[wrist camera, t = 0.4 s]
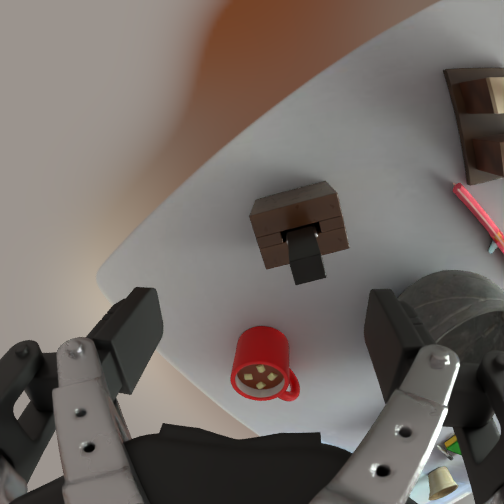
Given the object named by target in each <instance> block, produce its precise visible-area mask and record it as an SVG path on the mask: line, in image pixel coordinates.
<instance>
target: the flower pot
mask: <svg viewBox="0 0 504 504" xmlns="http://www.w3.org/2000/svg"><path fill="white" fill-rule="evenodd" d="M428 479H429V488H430V494H429V500H436V499H439V498H442V497H444V496H446V495H448V494H450V493H452V492H453V491H455V490H456V489H457V488H458V485H457V484H456V483H455V482H454V480H453V479H452V477H451V475H450V473H449V471H448V469H447V467H445V466H444V467H440V468H437V469H436V470H435V471H432V472H431V473H430V474H429V475H428Z"/></svg>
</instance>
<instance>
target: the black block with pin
mask: <svg viewBox="0 0 504 504" xmlns="http://www.w3.org/2000/svg"><path fill="white" fill-rule="evenodd" d="M316 237H318V235H317V231H316V229H315V226H314V223H311V224H307V225H303V226H300V227H296V228H292V229H288V230H286V242H287V244H288V252H289V264H290V267H291V271H292V274H293V278H294V281H295V285H299V284H303V283H307V282H311V281H315V280H319V279H323V278H326V272H325V268H324V264H323V260H322V255H321V252H320V249H319V246H318V243H317V240H316Z"/></svg>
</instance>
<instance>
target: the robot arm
mask: <svg viewBox="0 0 504 504" xmlns="http://www.w3.org/2000/svg"><path fill="white" fill-rule="evenodd" d="M162 335H163V320H162V315H161V310H160V305H159V300H158V295H157V291H156V289H155V288H145V287H136V288H134V289H133V291H132V292H131V293H130V294H129V295H128V296H127V298H126V299H123V300H121V301H119V302H118V303H116V304H114V305H113V306H112V307H111V309H110V310H109V311H108V312H107V314H105V315H104V317H103V318H102V320H100V321H99V322H98V324H97V325H96V326H95V327H94V328H93V330H92V331H91V332H90V333H89V334H88V335H87V337H86V338H85V337H78V338H74V339H70V340H68V341H66V342H65V343H63V344H62V345H61V346H60V347H59V348H58V350H57V352H56V353H42V352H41V350H40V347H39V345H38V343H37V342H35V341H32V340H27V341H22V342H19V343H17V344H15V345H14V346H13V347H12V348H10V349H9V351H8V352H7V353H6V354H5V355H4V356H3V357H2V358H1V359H0V504H418V503H416V502H415V501H414V500H412V499H411V498H410V497H409V495H410V493H411V491H412V490H413V488H414V486H415V484H416V482H417V480H418V478H419V476H420V474H421V472H422V470H423V468H424V466H425V464H426V462H427V460H428V457H429V455H430V453H431V451H432V449H433V446H434V444H435V442H436V439H437V437H438V434H439V432H440V429H441V427H442V426H445V427H453V430H454V432H455V435H456V438H457V441H458V444H459V447H460V451H461V454H462V457H463V460H464V463H465V467H466V470H467V474H468V477H469V481H470V484H471V488H472V492H473V495H474V500H475V504H504V352H502V351H497V350H493V351H489V352H487V353H485V355H484V356H483V358H482V361H481V363H480V364H477V363H466V362H460V360H459V357H458V355H457V354H456V353H455V352H454V351H453V350H451V349H450V348H448V347H445V346H442V345H437V344H436V343H435V341H434V339H433V338H432V336H431V334H430V333H429V331H428V330H427V328H426V327H425V325H423V322H422V320H421V319H420V318H419V316H418V314H417V313H416V311H415V310H414V308H413V307H411V306H410V305H409V304H407V303H406V302H404V301H399V300H398V299H397V297H396V296H395V294H394V292H393V291H392V289H372V290H371V291H370V294H369V300H368V306H367V313H366V319H365V325H364V338H365V343H366V345H367V348H368V351H369V354H370V357H371V360H372V363H373V366H374V369H375V372H376V375H377V379H378V382H379V385H380V388H381V391H382V394H383V398H384V401H385V404H386V405H385V407H384V408H383V410H382V412H381V413H380V415H379V416H378V418H377V419H376V421H375V422H374V424H373V425H372V427H371V428H370V430H369V431H368V433H367V434H366V436H365V437H364V439H363V440H362V442H361V443H360V444H359V446H358V447H357V448H356V450H355V451H354V453H351V452H348V451H346V450H344V449H342V448H339V447H336V446H332V445H328V444H323V443H321V435H320V432H315V433H278V434H273V435H267V436H261V437H255V438H248V439H240V440H238V439H233V438H229V437H226V436H222V435H219V434H216V433H213V432H210V431H206V430H203V429H200V428H193V427H186V426H179V425H172V424H165V423H163V424H162V427H161V430H160V432H159V433H158V434H149V435H144V436H140V437H137V438H134V439H132V438H131V436H130V433H129V430H128V428H127V425H126V423H125V420H124V417H123V414H122V412H121V409H120V406H119V403H118V401H117V399H116V396H117V395H118V393H124V394H129V395H131V394H132V392H133V390H134V388H135V386H136V384H137V382H138V381H139V379H140V377H141V375H142V373H143V371H144V369H145V367H146V366H147V364H148V362H149V360H150V358H151V356H152V354H153V353H154V351H155V349H156V347H157V345H158V343H159V342H160V340H161V338H162ZM24 390H25V392H26V394H27V396H28V397H29V399H30V400H31V401H30V403H29V404H28V405H27V407H26V408H25V410H24V411H23V413H22V415H21V416H20V417H19V419H18V420H17V419H16V418H15V416H14V413H13V407H14V404H15V402H16V400H17V399H18V397H19V396H20V395H21V394H22V392H23V391H24ZM494 413H495V414H496V417H497V419H498V421H499V423H500V426H501V435H500V434H499V432H498V429H497V427H496V425H495V423H494V420H493V418H492V417H493V415H494ZM55 430H56V433H57V440H58V446H59V452H60V457H61V463H62V468H63V473H64V475H63V476H61V477H59V478H58V479H55V480H53V481H52V482H50V483H47V484H45V485H43V486H41V487H39V488H37V489H35V490H33V491H30V492H28V493H27V483H28V482H29V479H30V477H31V475H32V473H33V471H34V469H35V467H36V466H37V464H38V462H39V460H40V457H41V456H42V454H43V452H44V450H45V448H46V446H47V445H48V442H49V441H50V439H51V437H52V435H53V433H54V432H55Z"/></svg>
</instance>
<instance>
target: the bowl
mask: <svg viewBox="0 0 504 504" xmlns="http://www.w3.org/2000/svg"><path fill="white" fill-rule="evenodd" d="M397 299H398V300H399V301H404V302H406V303H407V304H409V305H410V306H411V307H413V308H414V310H415V311H416V313H417V314H418V316H419V318H420V319H421V320H422V322H423V325H425V327H426V328H427V330H428V331H429V333H430V334H431V336H432V338H433V339H434V341H435V343H436V344H437V345H442V346H445V347H448V348H450V349H451V350H453V351H454V352H455V353H456V354H457V355H458V357H459V360H460V362H466V363H477V364H480V363H481V361H482V358H483V356H484V355H485V353H487V352H489V351H493V350H497V351H502V352H504V291H503V290H502V289H501V288H500V287H499V286H498V285H496V284H495V283H493V282H492V281H490V280H489V279H487V278H486V277H483V276H481V275H479V274H476V273H472V272H468V271H460V270H446V271H440V272H436V273H432V274H430V275H427V276H425V277H423V278H421V279H419V280H418V281H416V282H415V283H413V284H412V285H410V286H409V287H408V288H407V289H406V290H405V291H404V292H403V293H402V294H401V295H400V296H399V297H398V298H397Z"/></svg>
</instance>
